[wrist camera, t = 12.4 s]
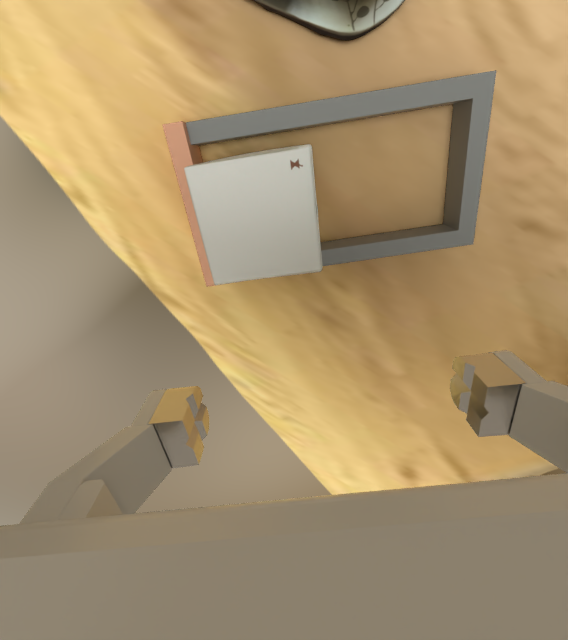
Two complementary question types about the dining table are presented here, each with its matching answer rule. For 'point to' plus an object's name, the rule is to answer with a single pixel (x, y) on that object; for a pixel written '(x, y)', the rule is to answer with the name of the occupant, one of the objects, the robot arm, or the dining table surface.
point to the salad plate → (335, 15)
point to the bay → (463, 92)
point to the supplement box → (258, 214)
